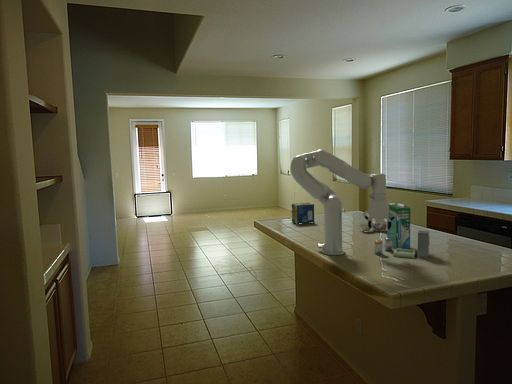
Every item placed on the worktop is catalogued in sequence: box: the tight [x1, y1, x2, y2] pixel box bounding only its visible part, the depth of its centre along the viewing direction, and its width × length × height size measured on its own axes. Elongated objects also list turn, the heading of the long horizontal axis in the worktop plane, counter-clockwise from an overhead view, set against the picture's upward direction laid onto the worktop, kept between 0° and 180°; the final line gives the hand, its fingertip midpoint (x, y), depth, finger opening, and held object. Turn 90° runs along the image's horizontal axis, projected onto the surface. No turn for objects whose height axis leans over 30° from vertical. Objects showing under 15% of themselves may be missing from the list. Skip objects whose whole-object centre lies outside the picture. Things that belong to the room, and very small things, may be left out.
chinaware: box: [358, 218, 387, 232], centre depth 262 cm, size 28×17×17 cm, turn 76°
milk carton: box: [386, 201, 411, 250], centre depth 218 cm, size 9×9×25 cm
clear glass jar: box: [384, 236, 393, 252], centre depth 211 cm, size 4×4×7 cm
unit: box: [417, 230, 431, 259], centre depth 197 cm, size 5×7×13 cm
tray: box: [393, 248, 417, 259], centre depth 201 cm, size 10×10×2 cm
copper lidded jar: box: [374, 239, 384, 256], centre depth 204 cm, size 4×4×7 cm
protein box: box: [291, 202, 315, 225], centre depth 304 cm, size 10×15×16 cm
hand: (379, 228), depth 203 cm, fingers open, 9 cm apart
